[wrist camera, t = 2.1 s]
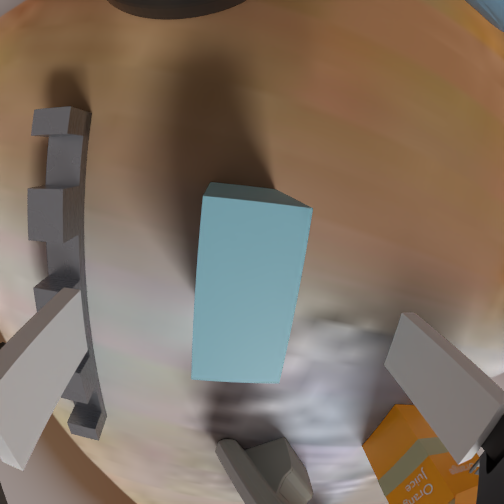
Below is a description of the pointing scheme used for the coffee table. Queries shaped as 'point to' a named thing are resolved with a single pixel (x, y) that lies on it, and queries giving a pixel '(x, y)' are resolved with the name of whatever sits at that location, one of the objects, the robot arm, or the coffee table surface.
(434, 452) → the orange juice
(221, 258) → the block
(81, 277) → the rail
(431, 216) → the coffee table surface
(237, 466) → the digital clock
